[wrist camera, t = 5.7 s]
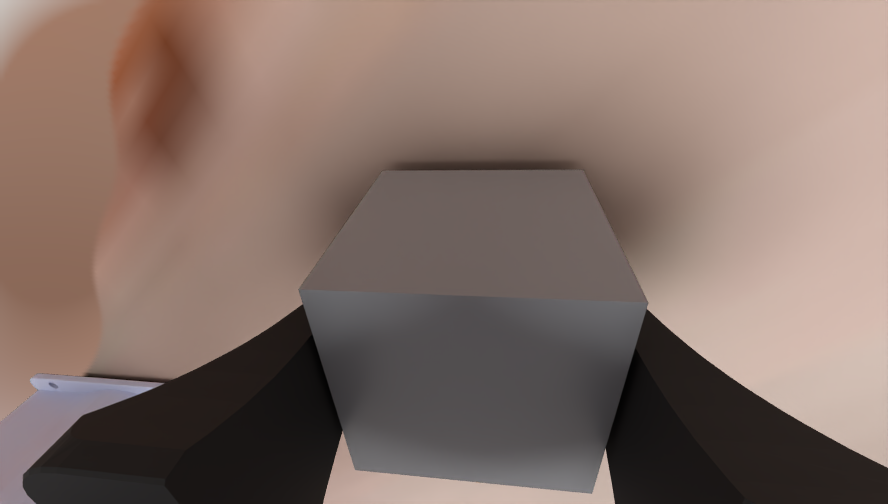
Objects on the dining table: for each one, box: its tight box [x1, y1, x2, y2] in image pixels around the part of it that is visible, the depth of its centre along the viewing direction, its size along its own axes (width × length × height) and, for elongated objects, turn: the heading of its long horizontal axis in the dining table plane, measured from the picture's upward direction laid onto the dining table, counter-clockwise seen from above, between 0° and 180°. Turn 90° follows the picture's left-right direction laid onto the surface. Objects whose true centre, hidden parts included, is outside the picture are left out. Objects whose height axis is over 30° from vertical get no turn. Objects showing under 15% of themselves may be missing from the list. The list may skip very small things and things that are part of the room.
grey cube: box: [298, 170, 648, 494], centre depth 11 cm, size 6×6×6 cm
